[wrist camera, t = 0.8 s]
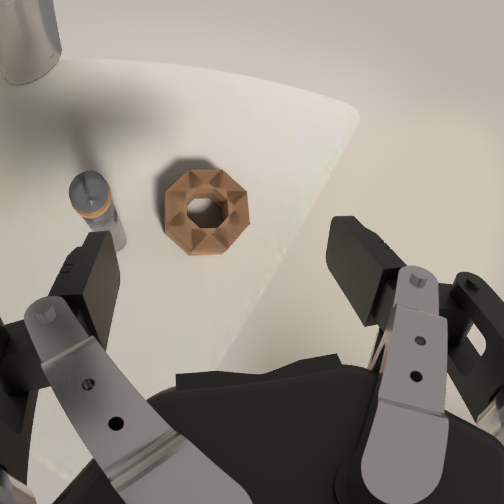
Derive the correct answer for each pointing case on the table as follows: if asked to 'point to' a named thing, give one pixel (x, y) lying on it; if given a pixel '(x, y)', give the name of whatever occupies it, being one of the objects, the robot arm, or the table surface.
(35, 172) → the table surface
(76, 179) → the banded metal pin
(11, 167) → the table surface
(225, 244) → the bead
